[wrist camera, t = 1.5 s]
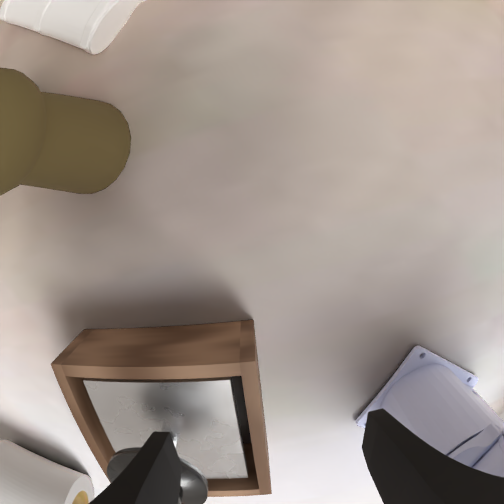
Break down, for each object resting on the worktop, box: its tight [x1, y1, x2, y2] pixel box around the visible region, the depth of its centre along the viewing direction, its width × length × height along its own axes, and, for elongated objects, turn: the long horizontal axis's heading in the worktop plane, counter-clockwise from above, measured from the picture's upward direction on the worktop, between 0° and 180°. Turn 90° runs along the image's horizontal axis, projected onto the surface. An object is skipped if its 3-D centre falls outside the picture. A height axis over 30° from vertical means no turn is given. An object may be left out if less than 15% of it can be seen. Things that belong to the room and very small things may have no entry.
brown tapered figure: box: [0, 68, 131, 195], centre depth 12 cm, size 6×6×11 cm
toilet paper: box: [0, 439, 94, 504], centre depth 19 cm, size 10×10×10 cm
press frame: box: [51, 320, 272, 497], centre depth 19 cm, size 12×12×5 cm
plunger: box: [83, 376, 248, 504], centre depth 15 cm, size 9×9×6 cm
